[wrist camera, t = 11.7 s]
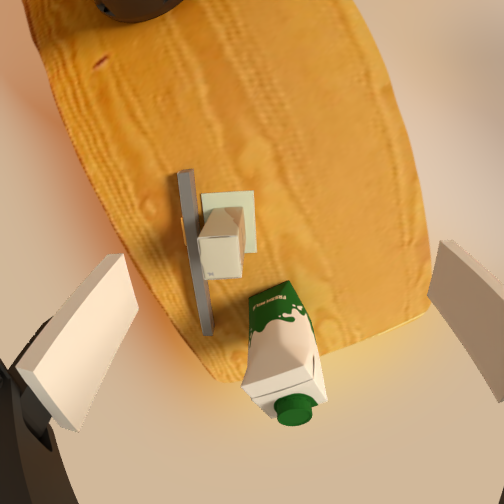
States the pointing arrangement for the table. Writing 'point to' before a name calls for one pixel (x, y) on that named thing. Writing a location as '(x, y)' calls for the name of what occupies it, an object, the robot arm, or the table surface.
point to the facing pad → (234, 200)
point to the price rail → (194, 247)
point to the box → (223, 244)
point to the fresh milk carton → (283, 357)
